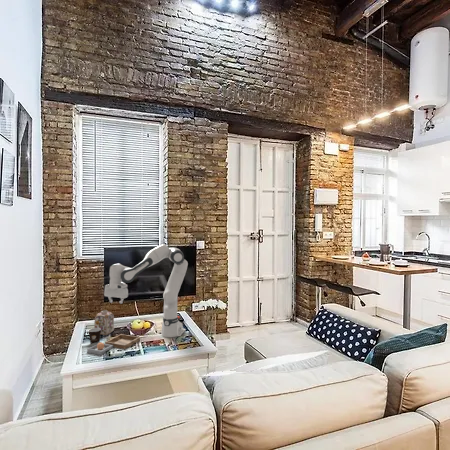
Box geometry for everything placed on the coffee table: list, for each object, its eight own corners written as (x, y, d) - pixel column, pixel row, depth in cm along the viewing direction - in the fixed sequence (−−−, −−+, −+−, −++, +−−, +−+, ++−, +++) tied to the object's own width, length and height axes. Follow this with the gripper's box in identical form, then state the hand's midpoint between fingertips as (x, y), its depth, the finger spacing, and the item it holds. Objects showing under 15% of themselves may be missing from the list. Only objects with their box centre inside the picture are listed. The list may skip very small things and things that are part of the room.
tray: (99, 346, 241) (99, 342, 241) (113, 348, 237) (113, 345, 237) (87, 352, 229) (87, 348, 229) (101, 355, 225) (101, 351, 225)
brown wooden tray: (121, 338, 257) (121, 333, 257) (140, 341, 251) (140, 337, 250) (105, 346, 240) (105, 341, 240) (124, 350, 234) (124, 345, 234)
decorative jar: (107, 335, 264) (107, 313, 263) (93, 334, 266) (93, 312, 265) (114, 330, 276) (114, 309, 275) (101, 329, 277) (101, 308, 277)
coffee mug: (103, 341, 251) (103, 328, 251) (96, 345, 242) (96, 332, 242) (90, 339, 254) (90, 327, 254) (83, 343, 246) (82, 330, 245)
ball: (100, 347, 236) (100, 340, 236) (105, 348, 235) (105, 342, 234) (95, 350, 231) (95, 343, 231) (100, 351, 230) (101, 344, 230)
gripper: (102, 284, 249) (102, 302, 249) (123, 286, 241) (124, 305, 242) (107, 283, 255) (108, 300, 255) (129, 285, 247) (129, 303, 247)
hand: (116, 302), depth 248 cm, fingers open, 8 cm apart
